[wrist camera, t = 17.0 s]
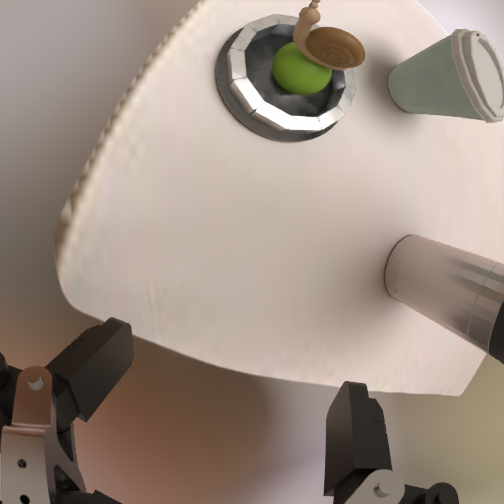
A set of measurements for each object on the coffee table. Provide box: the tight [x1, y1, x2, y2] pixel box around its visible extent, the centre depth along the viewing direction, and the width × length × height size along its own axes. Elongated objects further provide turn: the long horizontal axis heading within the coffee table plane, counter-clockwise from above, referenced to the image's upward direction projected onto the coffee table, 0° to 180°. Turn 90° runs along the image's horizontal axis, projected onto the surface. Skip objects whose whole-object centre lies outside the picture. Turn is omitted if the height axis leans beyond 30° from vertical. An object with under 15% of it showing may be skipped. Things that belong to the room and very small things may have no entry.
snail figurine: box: [272, 0, 365, 95], centre depth 18 cm, size 5×6×12 cm
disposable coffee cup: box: [388, 29, 504, 123], centre depth 21 cm, size 11×11×15 cm
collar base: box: [216, 14, 356, 142], centre depth 23 cm, size 14×14×3 cm
